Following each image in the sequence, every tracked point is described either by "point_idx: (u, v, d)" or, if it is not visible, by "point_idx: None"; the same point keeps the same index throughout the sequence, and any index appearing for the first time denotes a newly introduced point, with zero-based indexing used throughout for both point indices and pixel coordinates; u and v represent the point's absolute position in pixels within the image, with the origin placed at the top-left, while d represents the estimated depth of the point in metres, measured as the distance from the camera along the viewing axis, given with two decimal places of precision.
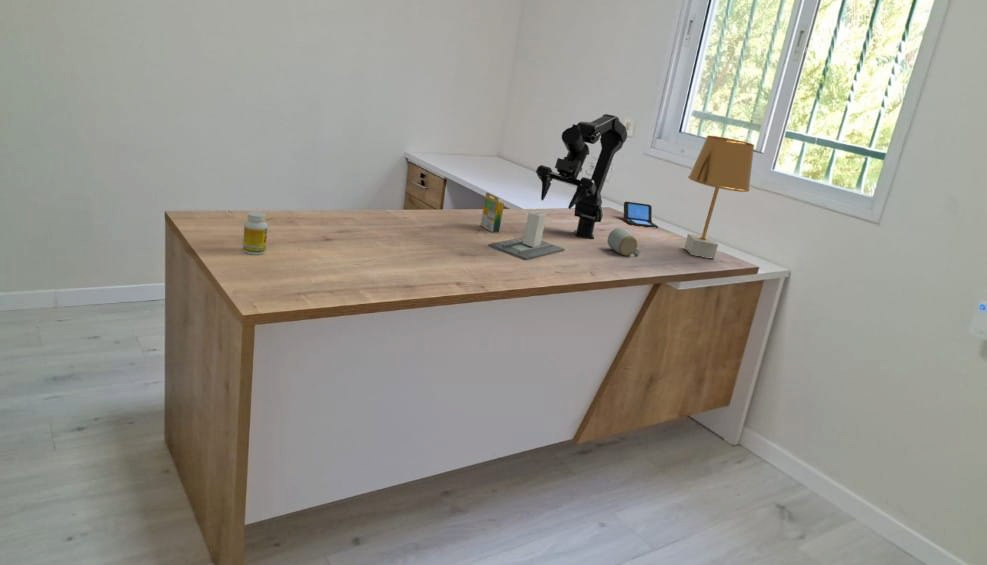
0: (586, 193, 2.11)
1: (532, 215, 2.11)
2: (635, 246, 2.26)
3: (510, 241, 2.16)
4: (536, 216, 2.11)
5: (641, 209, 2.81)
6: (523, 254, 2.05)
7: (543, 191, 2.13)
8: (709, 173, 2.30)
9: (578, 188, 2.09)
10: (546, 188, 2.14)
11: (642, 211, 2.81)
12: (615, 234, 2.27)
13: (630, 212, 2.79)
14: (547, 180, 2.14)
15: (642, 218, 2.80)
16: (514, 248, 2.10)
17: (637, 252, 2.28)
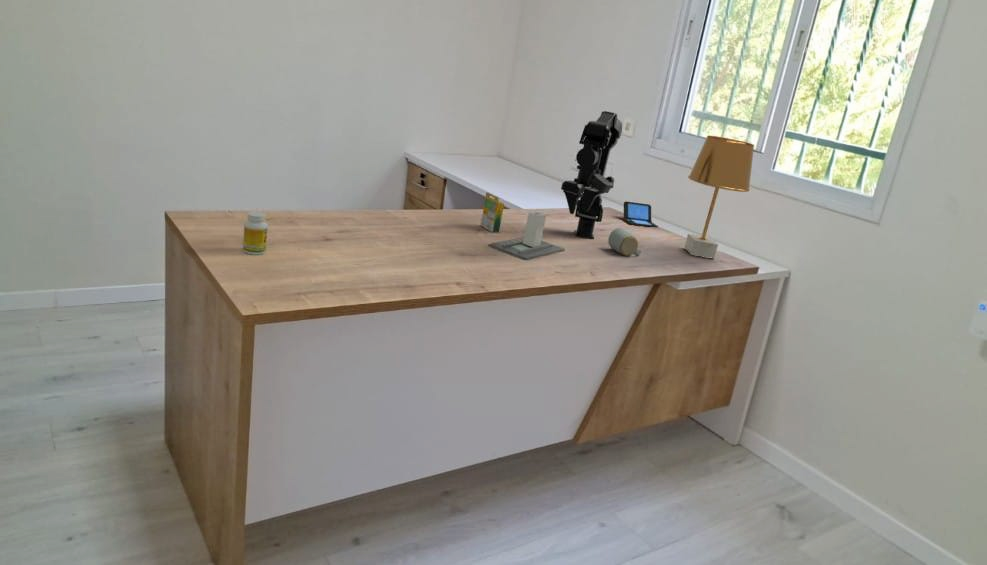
0: None
1: (532, 215, 2.11)
2: (636, 246, 2.26)
3: (510, 241, 2.16)
4: (536, 216, 2.11)
5: (641, 209, 2.81)
6: (523, 254, 2.05)
7: (575, 207, 2.14)
8: (709, 173, 2.30)
9: (597, 195, 2.20)
10: None
11: (642, 211, 2.81)
12: (616, 234, 2.27)
13: (630, 212, 2.79)
14: None
15: (642, 218, 2.80)
16: (514, 248, 2.10)
17: (638, 252, 2.28)
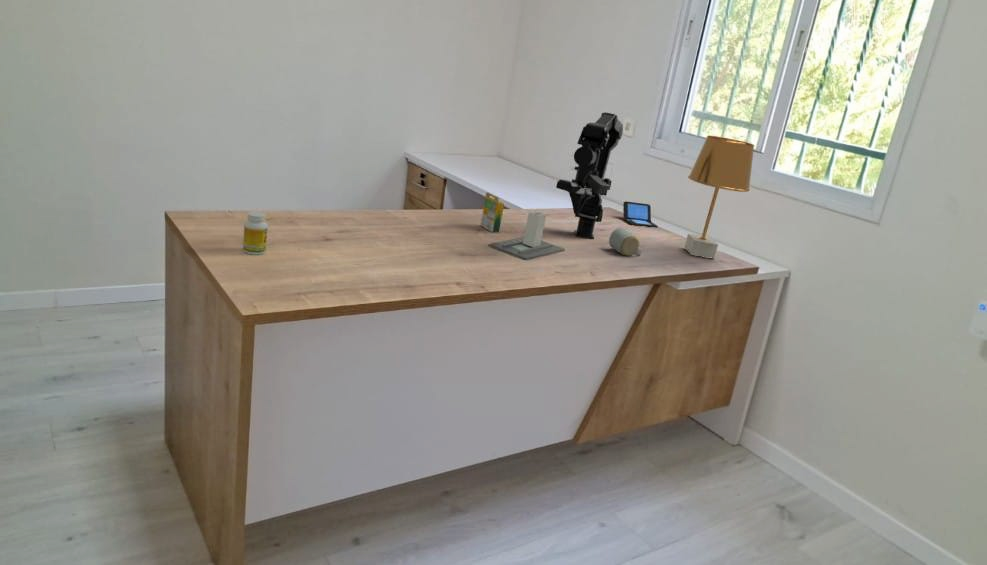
0: None
1: (532, 215, 2.11)
2: (637, 246, 2.26)
3: (510, 241, 2.16)
4: (536, 216, 2.11)
5: (640, 209, 2.81)
6: (523, 254, 2.05)
7: (579, 207, 2.17)
8: (709, 173, 2.30)
9: (588, 197, 2.17)
10: None
11: (641, 211, 2.81)
12: (617, 234, 2.27)
13: (630, 212, 2.79)
14: None
15: (641, 218, 2.80)
16: (514, 248, 2.10)
17: (639, 252, 2.28)
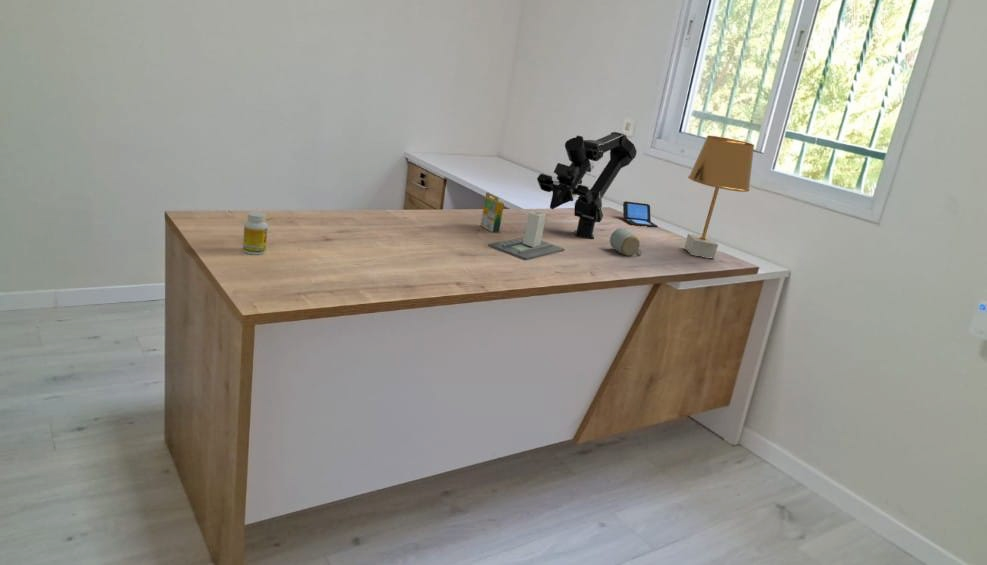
0: (570, 197, 2.19)
1: (532, 215, 2.11)
2: (637, 246, 2.26)
3: (510, 241, 2.16)
4: (536, 216, 2.11)
5: (640, 209, 2.81)
6: (523, 254, 2.05)
7: (553, 199, 2.18)
8: (709, 173, 2.30)
9: (562, 190, 2.18)
10: None
11: (641, 211, 2.81)
12: (617, 234, 2.27)
13: (629, 212, 2.79)
14: (558, 190, 2.19)
15: (641, 218, 2.81)
16: (514, 248, 2.10)
17: (639, 252, 2.28)
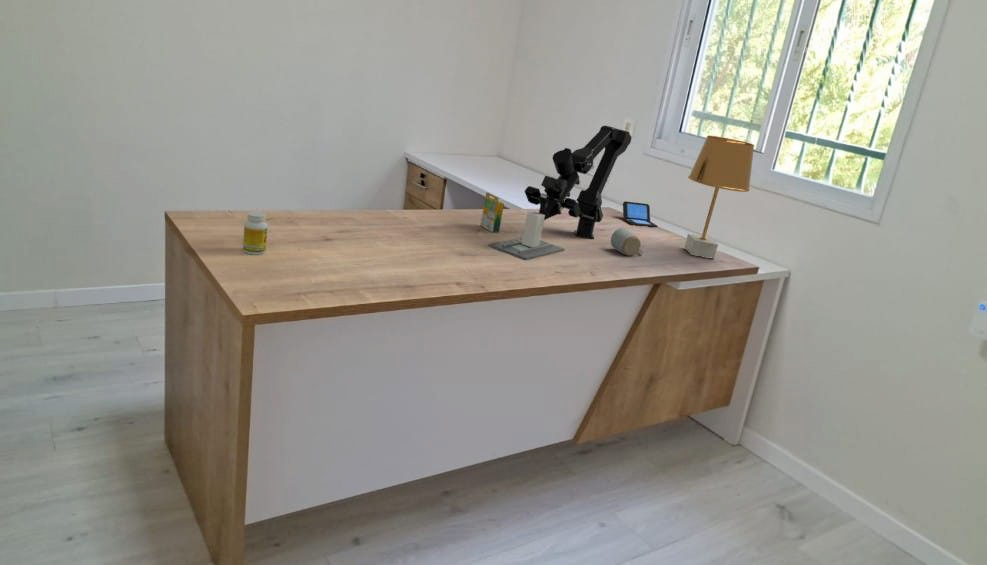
0: (558, 210, 2.16)
1: (531, 215, 2.11)
2: (638, 246, 2.26)
3: (510, 241, 2.16)
4: (535, 216, 2.10)
5: (640, 209, 2.81)
6: (523, 254, 2.05)
7: (540, 213, 2.15)
8: (709, 173, 2.30)
9: (550, 203, 2.14)
10: None
11: (641, 211, 2.81)
12: (618, 234, 2.27)
13: (629, 212, 2.79)
14: (545, 203, 2.16)
15: (641, 218, 2.81)
16: (514, 248, 2.10)
17: (640, 252, 2.29)
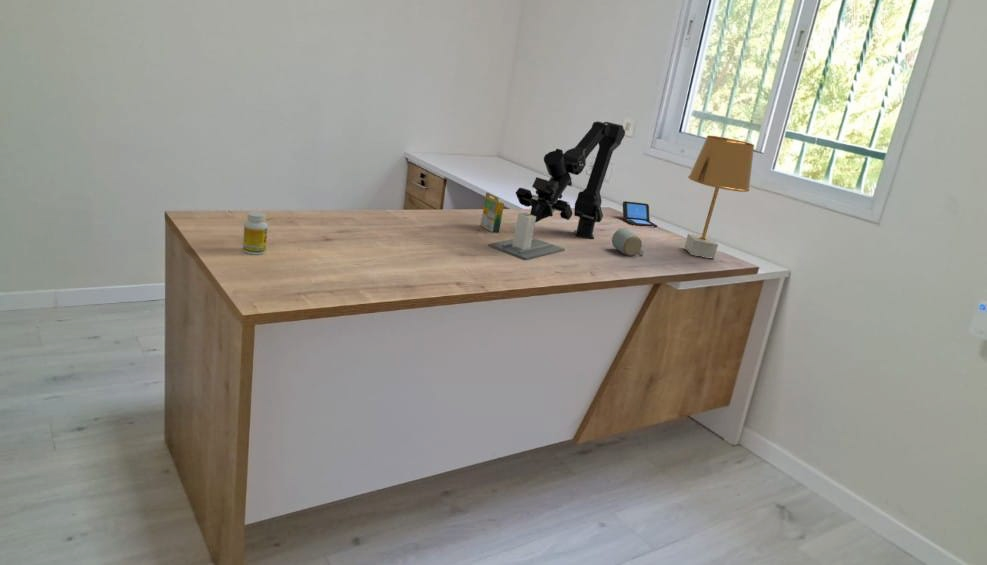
0: (549, 212, 2.12)
1: (522, 217, 2.07)
2: (639, 246, 2.26)
3: (510, 241, 2.16)
4: (526, 218, 2.06)
5: (639, 208, 2.82)
6: (523, 254, 2.05)
7: None
8: (709, 173, 2.30)
9: (541, 205, 2.10)
10: None
11: (640, 210, 2.82)
12: (619, 234, 2.28)
13: (629, 212, 2.79)
14: (537, 205, 2.12)
15: (640, 217, 2.81)
16: (514, 248, 2.10)
17: (641, 252, 2.29)
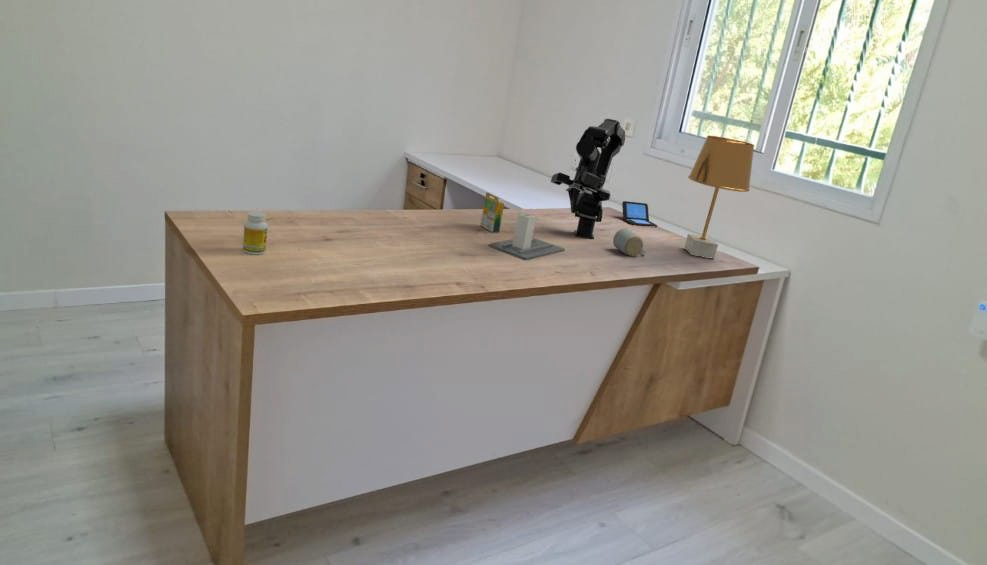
0: None
1: (522, 217, 2.07)
2: (641, 246, 2.26)
3: (510, 241, 2.16)
4: (526, 218, 2.06)
5: (638, 208, 2.82)
6: (523, 254, 2.05)
7: (575, 204, 2.17)
8: (709, 173, 2.30)
9: (584, 195, 2.17)
10: None
11: (640, 210, 2.82)
12: (621, 234, 2.28)
13: (629, 212, 2.79)
14: None
15: (640, 217, 2.81)
16: (514, 248, 2.10)
17: (643, 252, 2.29)
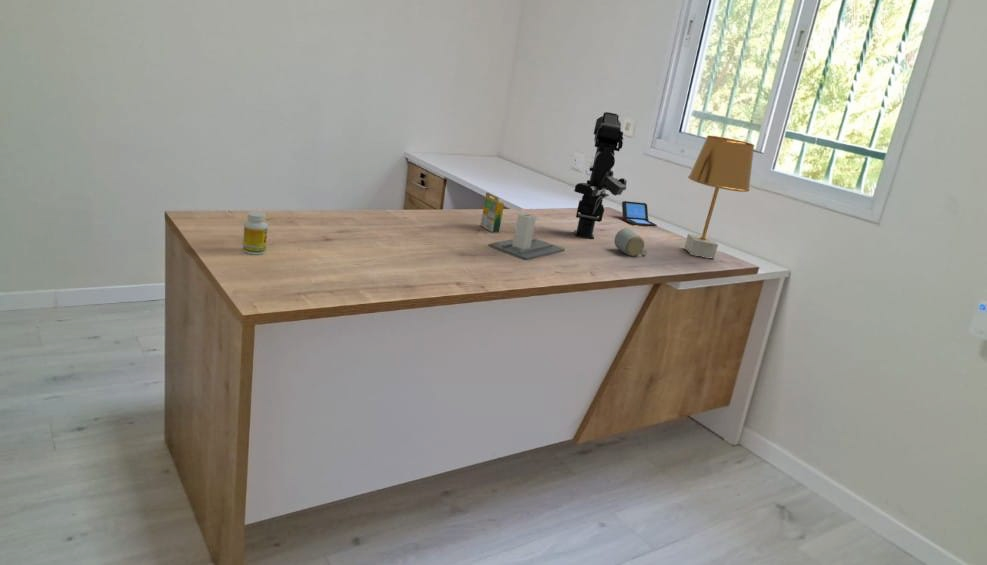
0: None
1: (522, 217, 2.07)
2: (642, 247, 2.27)
3: (510, 241, 2.16)
4: (526, 218, 2.06)
5: (638, 208, 2.82)
6: (523, 254, 2.05)
7: (595, 208, 2.18)
8: (709, 173, 2.30)
9: (603, 197, 2.18)
10: None
11: (639, 210, 2.82)
12: (622, 235, 2.28)
13: (628, 212, 2.80)
14: None
15: (640, 217, 2.81)
16: (514, 248, 2.10)
17: (644, 253, 2.29)
